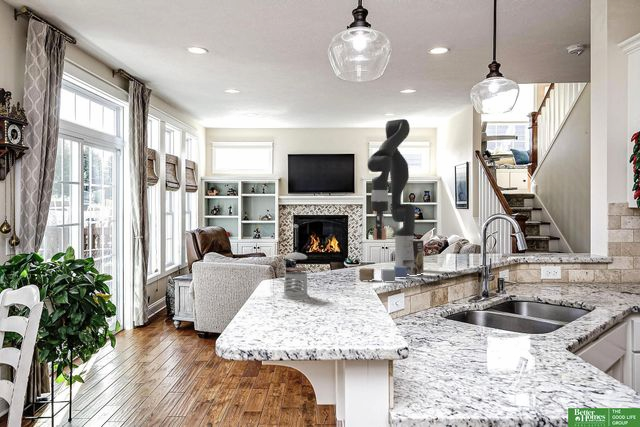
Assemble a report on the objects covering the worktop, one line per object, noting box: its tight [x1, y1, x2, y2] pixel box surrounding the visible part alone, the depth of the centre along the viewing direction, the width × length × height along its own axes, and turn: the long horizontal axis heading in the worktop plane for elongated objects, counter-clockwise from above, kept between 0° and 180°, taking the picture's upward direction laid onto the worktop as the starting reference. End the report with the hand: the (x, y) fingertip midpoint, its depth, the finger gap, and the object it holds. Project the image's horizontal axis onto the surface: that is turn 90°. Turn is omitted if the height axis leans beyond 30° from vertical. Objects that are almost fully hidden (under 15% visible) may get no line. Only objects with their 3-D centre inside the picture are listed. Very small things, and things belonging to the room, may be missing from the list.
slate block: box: [380, 268, 396, 282], centre depth 189 cm, size 5×5×5 cm
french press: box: [276, 223, 311, 300], centre depth 155 cm, size 10×12×25 cm
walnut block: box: [358, 267, 375, 281], centre depth 191 cm, size 5×5×5 cm
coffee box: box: [403, 239, 425, 275], centre depth 206 cm, size 9×6×16 cm
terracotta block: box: [373, 227, 387, 241], centre depth 201 cm, size 5×5×5 cm
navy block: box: [393, 265, 408, 278], centre depth 199 cm, size 5×5×5 cm
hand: (379, 238), depth 201 cm, fingers closed on terracotta block, 5 cm apart
